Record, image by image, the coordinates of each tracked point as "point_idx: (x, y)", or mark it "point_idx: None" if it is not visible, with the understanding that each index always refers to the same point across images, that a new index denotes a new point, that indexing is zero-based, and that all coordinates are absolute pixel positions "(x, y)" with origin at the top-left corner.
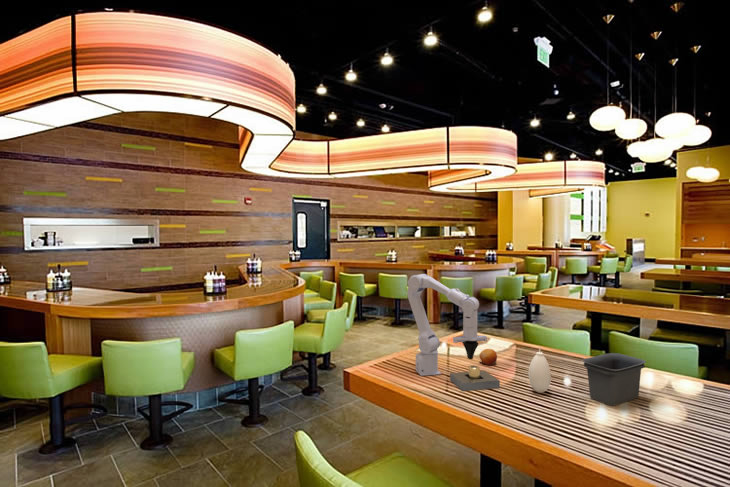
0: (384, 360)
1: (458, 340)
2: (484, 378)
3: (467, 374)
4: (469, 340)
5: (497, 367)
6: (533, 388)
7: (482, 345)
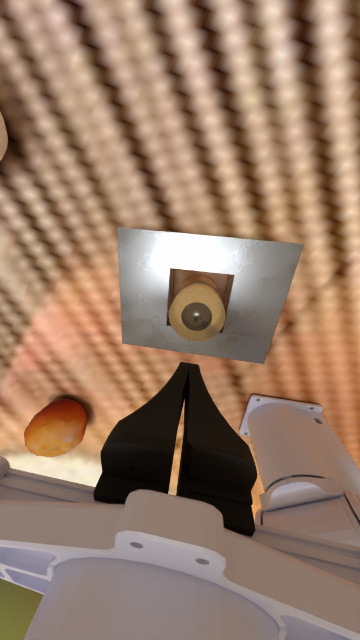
0: None
1: (350, 579)
2: (168, 270)
3: None
4: (238, 535)
5: (60, 381)
6: (4, 125)
7: None
